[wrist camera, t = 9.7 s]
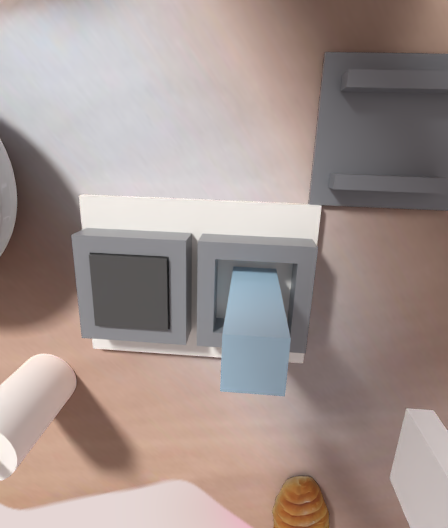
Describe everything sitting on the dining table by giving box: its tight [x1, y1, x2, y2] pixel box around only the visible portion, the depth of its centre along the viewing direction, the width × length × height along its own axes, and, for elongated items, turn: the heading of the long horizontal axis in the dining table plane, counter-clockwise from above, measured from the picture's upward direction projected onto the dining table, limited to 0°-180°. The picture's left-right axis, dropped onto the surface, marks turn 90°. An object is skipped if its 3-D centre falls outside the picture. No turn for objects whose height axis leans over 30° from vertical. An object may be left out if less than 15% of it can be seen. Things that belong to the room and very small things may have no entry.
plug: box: [220, 266, 291, 396], centre depth 27 cm, size 4×4×13 cm
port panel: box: [71, 194, 322, 363], centre depth 32 cm, size 16×22×4 cm
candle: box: [0, 354, 77, 480], centre depth 32 cm, size 6×6×15 cm
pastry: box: [272, 476, 329, 528], centre depth 41 cm, size 9×7×4 cm
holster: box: [308, 52, 448, 211], centre depth 28 cm, size 12×12×2 cm
